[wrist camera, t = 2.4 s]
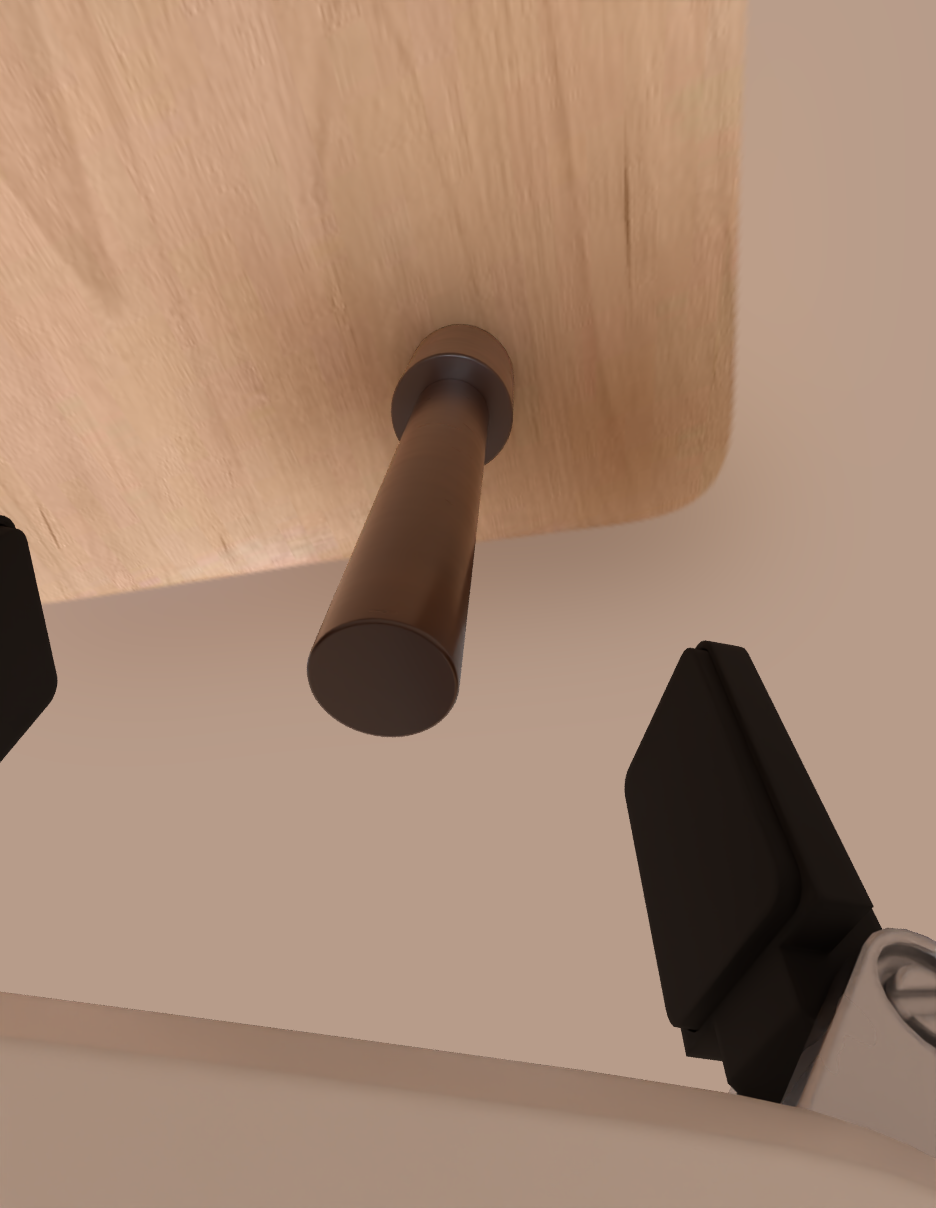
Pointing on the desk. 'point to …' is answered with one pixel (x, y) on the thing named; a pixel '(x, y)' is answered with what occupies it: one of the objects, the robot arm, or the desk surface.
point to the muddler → (417, 544)
